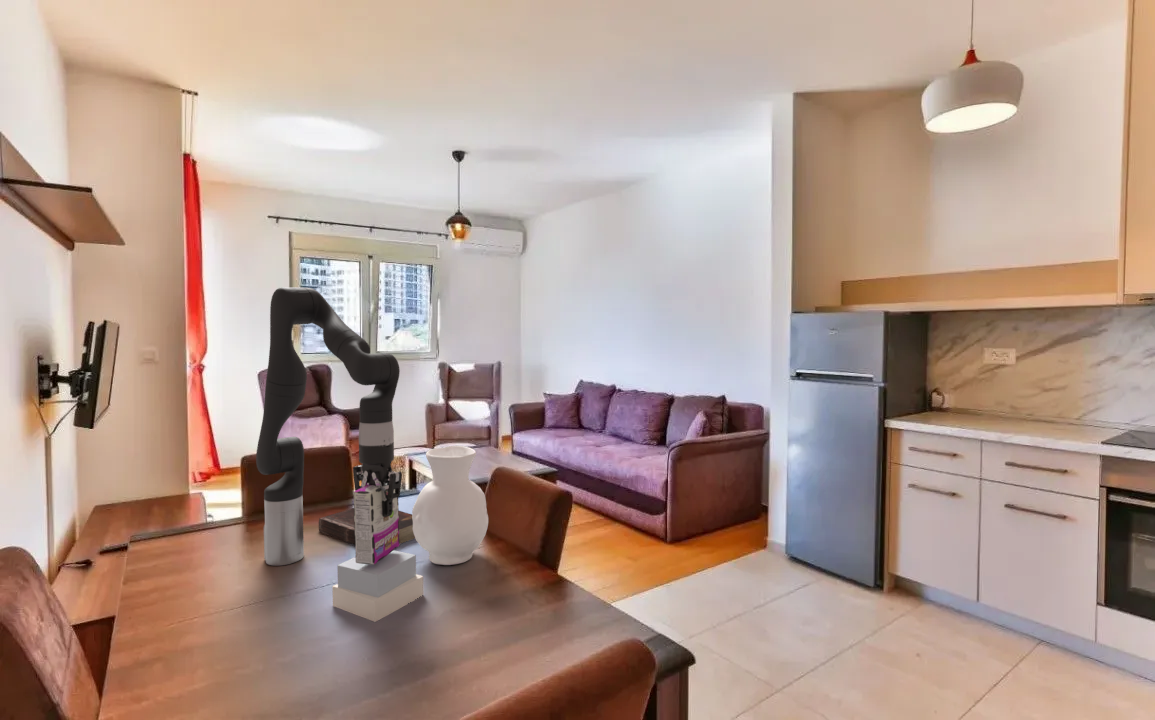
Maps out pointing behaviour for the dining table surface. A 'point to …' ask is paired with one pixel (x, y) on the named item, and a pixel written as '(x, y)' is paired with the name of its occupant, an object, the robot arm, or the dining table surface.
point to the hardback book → (344, 526)
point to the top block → (377, 574)
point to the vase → (450, 508)
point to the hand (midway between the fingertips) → (377, 513)
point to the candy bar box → (374, 526)
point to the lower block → (378, 599)
